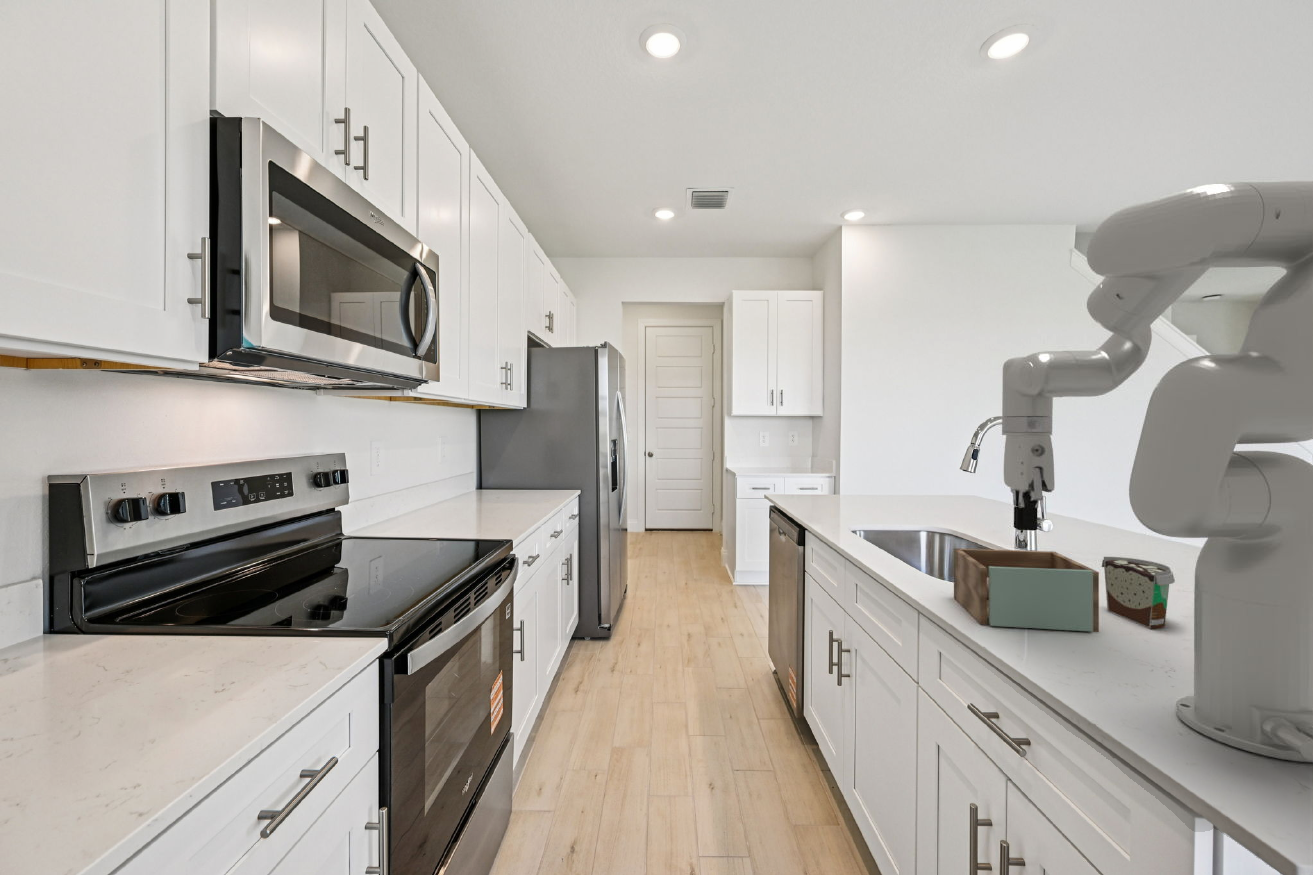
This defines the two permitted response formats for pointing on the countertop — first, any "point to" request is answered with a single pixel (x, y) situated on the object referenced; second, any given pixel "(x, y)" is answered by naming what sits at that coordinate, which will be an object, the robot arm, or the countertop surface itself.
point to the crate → (976, 562)
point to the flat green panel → (1041, 598)
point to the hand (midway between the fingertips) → (1025, 529)
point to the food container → (1137, 590)
